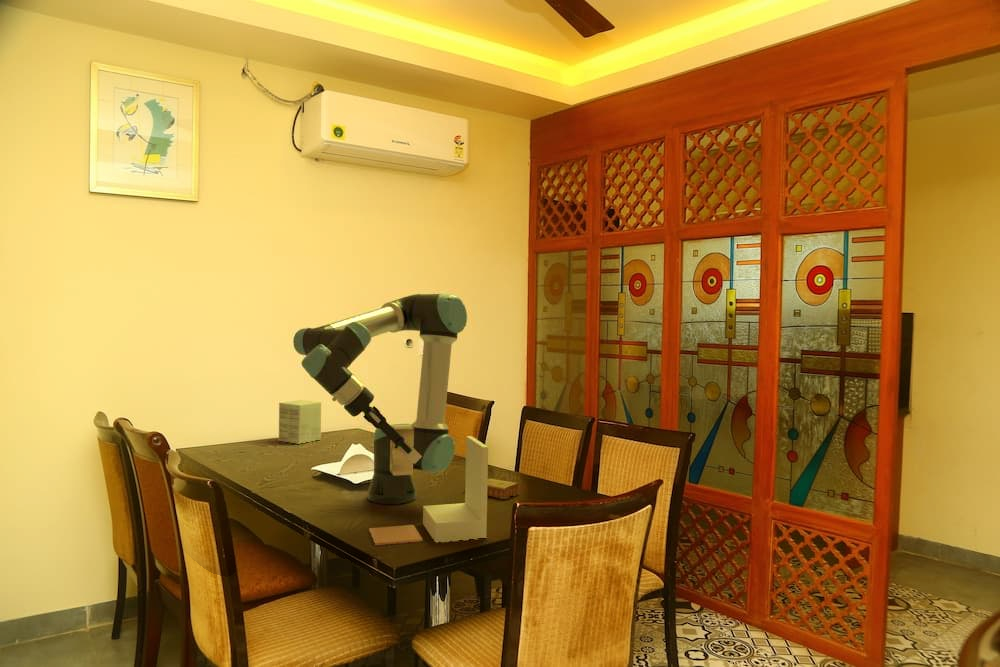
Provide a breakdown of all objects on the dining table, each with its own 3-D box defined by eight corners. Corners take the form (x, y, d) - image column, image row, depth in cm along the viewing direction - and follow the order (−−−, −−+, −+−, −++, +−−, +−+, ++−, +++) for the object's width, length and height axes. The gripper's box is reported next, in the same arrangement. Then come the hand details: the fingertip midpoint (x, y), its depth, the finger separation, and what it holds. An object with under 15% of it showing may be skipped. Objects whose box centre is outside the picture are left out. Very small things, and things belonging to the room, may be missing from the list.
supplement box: (300, 437, 308) (300, 399, 308) (321, 440, 302) (321, 402, 301) (277, 441, 297) (278, 402, 296) (299, 445, 290) (299, 405, 290)
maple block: (389, 470, 176) (390, 425, 176) (408, 469, 178) (409, 424, 178) (393, 475, 171) (394, 428, 171) (412, 474, 173) (413, 428, 173)
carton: (504, 501, 211) (504, 487, 211) (463, 492, 220) (464, 479, 220) (518, 495, 218) (518, 482, 218) (478, 487, 227) (479, 475, 227)
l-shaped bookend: (422, 523, 185) (424, 437, 185) (469, 520, 189) (471, 436, 189) (435, 542, 170) (437, 449, 169) (486, 538, 174) (488, 447, 174)
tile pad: (369, 530, 179) (369, 528, 179) (413, 526, 182) (413, 524, 182) (375, 545, 167) (375, 543, 167) (422, 541, 171) (422, 539, 171)
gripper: (338, 402, 178) (398, 460, 184) (346, 411, 160) (412, 476, 166) (359, 382, 180) (418, 440, 185) (369, 389, 162) (433, 454, 168)
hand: (415, 457), depth 176 cm, fingers closed on maple block, 5 cm apart
